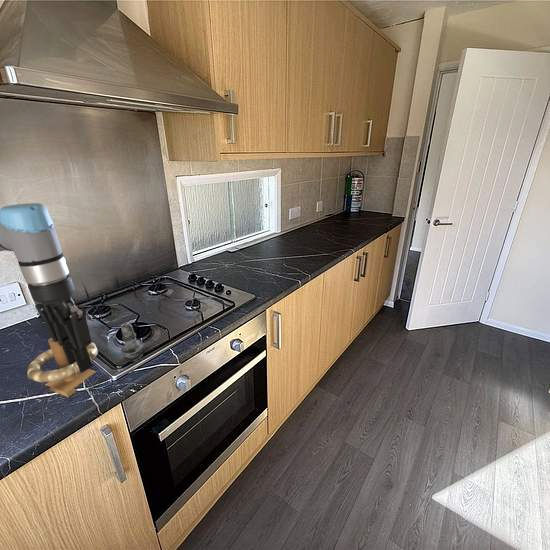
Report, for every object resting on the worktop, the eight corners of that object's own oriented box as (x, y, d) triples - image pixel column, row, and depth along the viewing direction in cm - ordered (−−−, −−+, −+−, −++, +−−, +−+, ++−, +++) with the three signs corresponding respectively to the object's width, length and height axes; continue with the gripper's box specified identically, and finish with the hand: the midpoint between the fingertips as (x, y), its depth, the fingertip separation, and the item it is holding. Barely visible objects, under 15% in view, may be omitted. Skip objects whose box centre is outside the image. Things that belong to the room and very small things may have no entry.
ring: (15, 376, 70) (11, 368, 69) (73, 342, 82) (70, 335, 81) (56, 390, 65) (52, 381, 64) (110, 351, 77) (108, 344, 76)
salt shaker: (138, 348, 88) (129, 314, 83) (150, 355, 85) (141, 320, 80) (119, 359, 83) (108, 323, 79) (130, 367, 80) (120, 330, 76)
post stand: (46, 389, 74) (27, 345, 68) (76, 368, 81) (60, 327, 75) (68, 397, 71) (49, 352, 66) (97, 375, 78) (82, 332, 72)
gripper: (91, 276, 62) (118, 364, 72) (43, 268, 68) (74, 351, 77) (55, 291, 56) (90, 386, 65) (6, 281, 61) (44, 370, 71)
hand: (81, 367), depth 71 cm, fingers closed on ring, 2 cm apart
